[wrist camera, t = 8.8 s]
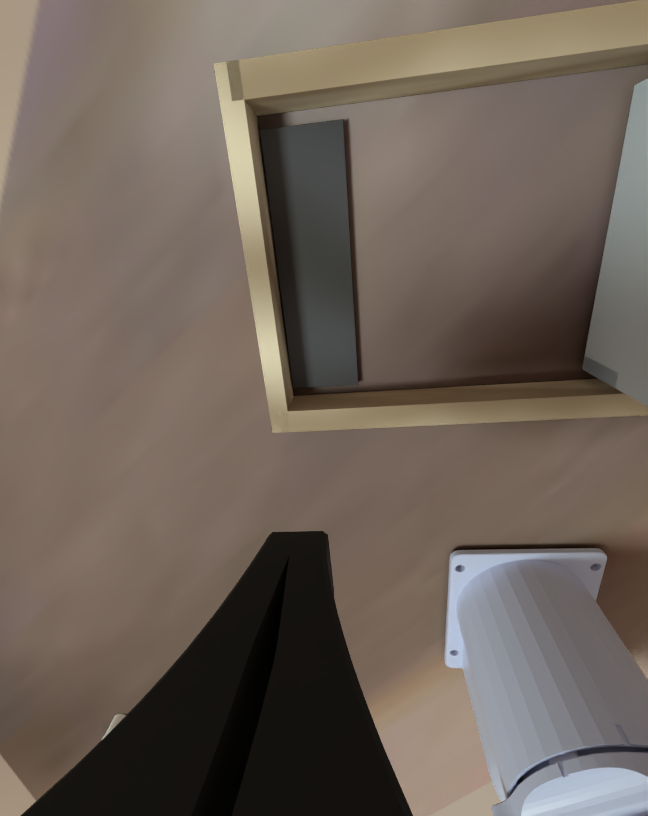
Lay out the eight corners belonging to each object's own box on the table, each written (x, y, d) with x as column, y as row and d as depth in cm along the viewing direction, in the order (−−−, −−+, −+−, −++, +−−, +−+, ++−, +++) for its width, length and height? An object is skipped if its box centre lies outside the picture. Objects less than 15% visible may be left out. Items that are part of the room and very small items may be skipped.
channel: (828, 391, 16) (907, 417, 14) (280, 419, 19) (269, 445, 17) (1026, -38, 11) (1207, -112, 9) (229, 77, 14) (203, 44, 11)
